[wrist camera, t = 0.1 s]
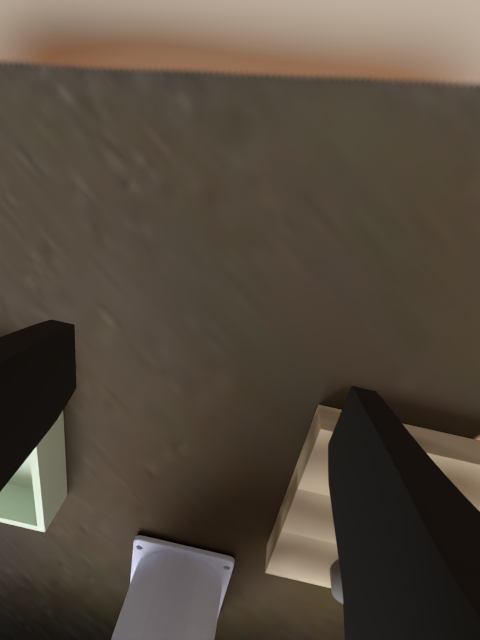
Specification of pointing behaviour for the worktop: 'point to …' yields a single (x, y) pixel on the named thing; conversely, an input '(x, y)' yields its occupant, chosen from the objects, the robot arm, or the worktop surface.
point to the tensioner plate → (315, 504)
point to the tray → (37, 484)
